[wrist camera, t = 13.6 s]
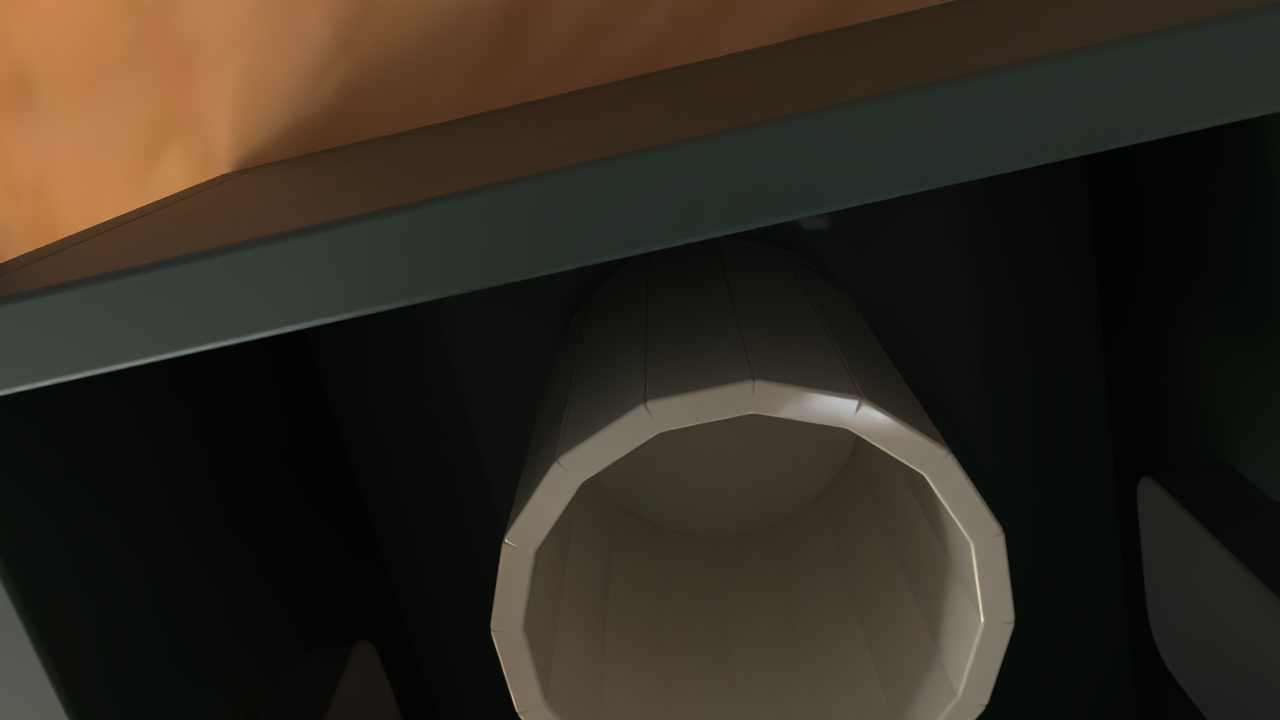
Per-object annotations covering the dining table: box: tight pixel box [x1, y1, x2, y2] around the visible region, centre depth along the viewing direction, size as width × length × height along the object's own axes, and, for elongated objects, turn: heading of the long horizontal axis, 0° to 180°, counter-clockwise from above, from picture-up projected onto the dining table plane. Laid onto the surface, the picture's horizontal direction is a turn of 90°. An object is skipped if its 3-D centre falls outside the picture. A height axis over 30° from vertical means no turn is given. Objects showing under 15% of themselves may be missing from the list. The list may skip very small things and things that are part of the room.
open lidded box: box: [0, 0, 1280, 720], centre depth 16 cm, size 16×16×10 cm
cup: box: [490, 236, 1015, 720], centre depth 16 cm, size 6×6×8 cm
